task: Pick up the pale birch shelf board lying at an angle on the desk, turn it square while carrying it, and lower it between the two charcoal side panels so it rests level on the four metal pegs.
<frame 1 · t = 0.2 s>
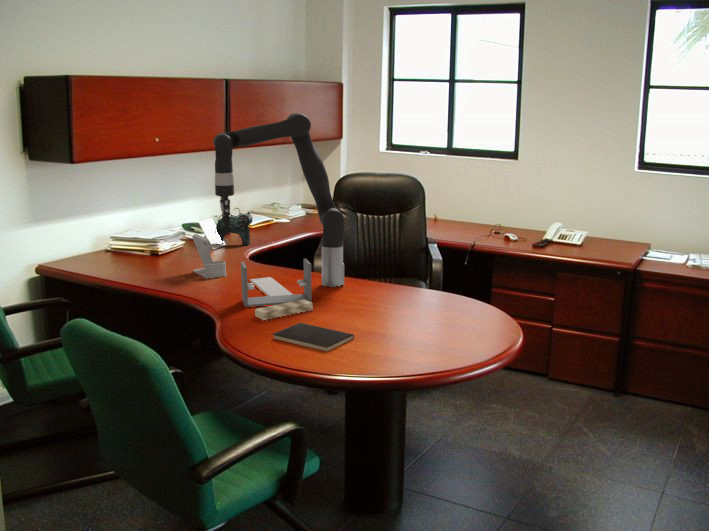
hand: (225, 223, 316), 29 cm above the table, tool pointing down, fingers open, 8 cm apart
phone holder: (209, 274, 353), on the table
shelf board: (284, 314, 293), on the table
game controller: (234, 245, 414), on the table
hardcover book: (313, 340, 265), on the table
shelf frame: (276, 302, 308), on the table
baseboard: (268, 290, 328), on the table
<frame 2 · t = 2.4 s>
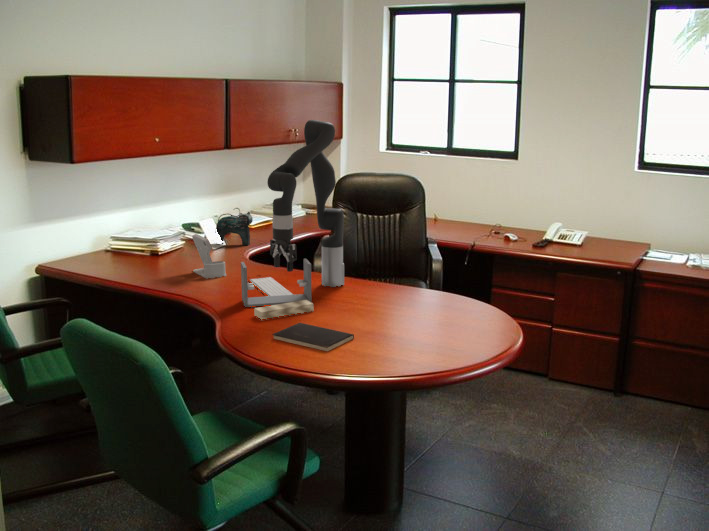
hand: (283, 269, 289), 17 cm above the table, tool pointing down, fingers open, 8 cm apart
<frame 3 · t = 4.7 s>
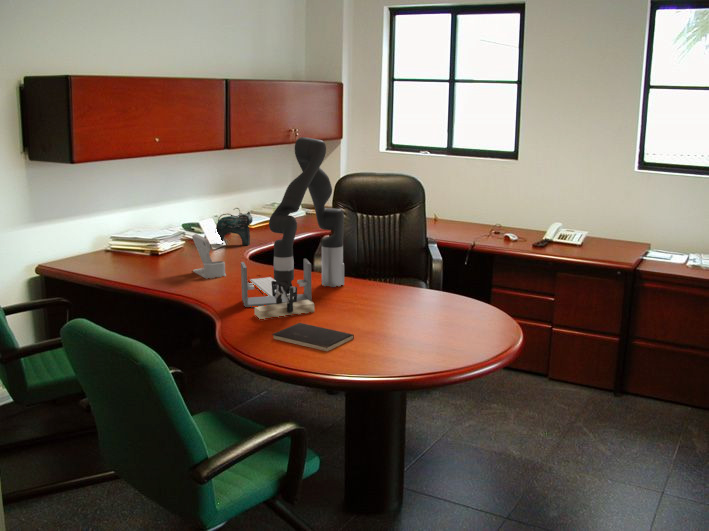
hand: (284, 310, 293), 1 cm above the table, tool pointing down, fingers closed on shelf board, 6 cm apart
shelf board: (284, 314, 293), on the table, touching gripper
everything else where it was.
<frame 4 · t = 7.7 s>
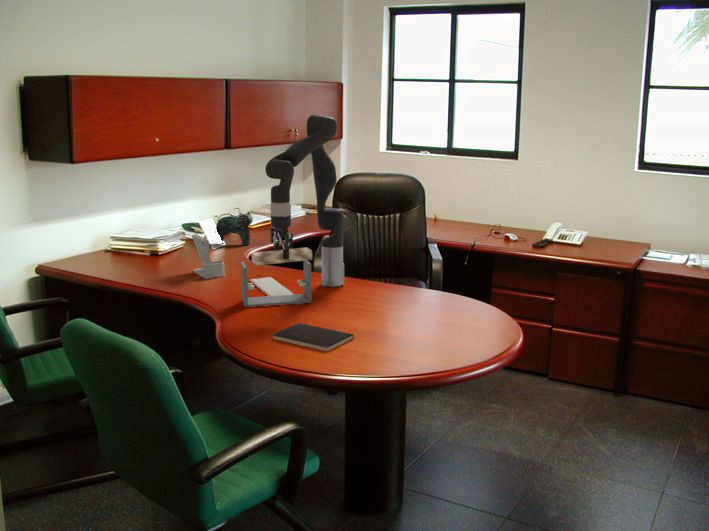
hand: (281, 257, 292), 21 cm above the table, tool pointing down, fingers closed on shelf board, 6 cm apart
shelf board: (282, 260, 293), point 20 cm above the table, touching gripper
everything else where it was.
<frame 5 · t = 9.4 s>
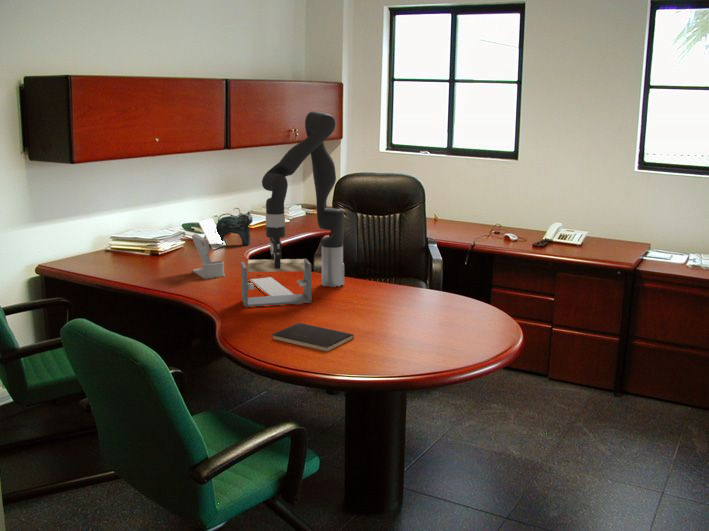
hand: (276, 266, 304), 15 cm above the table, tool pointing down, fingers closed on shelf board, 6 cm apart
shelf board: (276, 269, 305), point 13 cm above the table, touching gripper
everything else where it was.
when the fingers open (10 cm above the table, at t = 10.9 s): shelf board stays where it is, resting on shelf frame.
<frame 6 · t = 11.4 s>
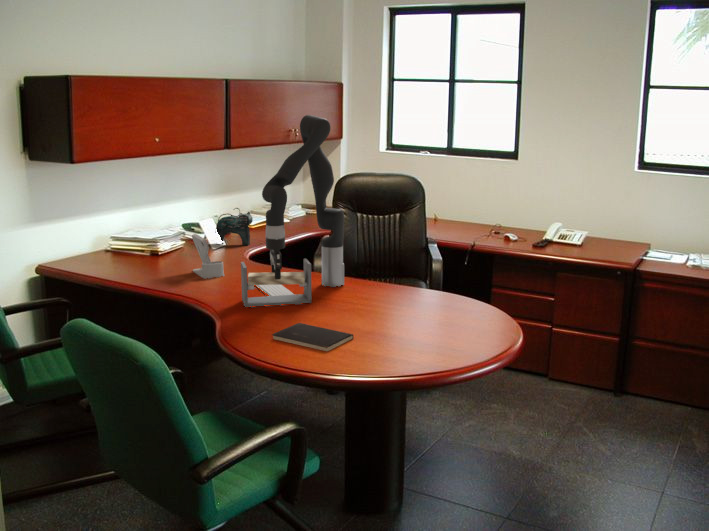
hand: (276, 276, 306), 11 cm above the table, tool pointing down, fingers open, 8 cm apart
shelf board: (276, 282, 306), point 8 cm above the table, touching shelf frame
everything else where it was.
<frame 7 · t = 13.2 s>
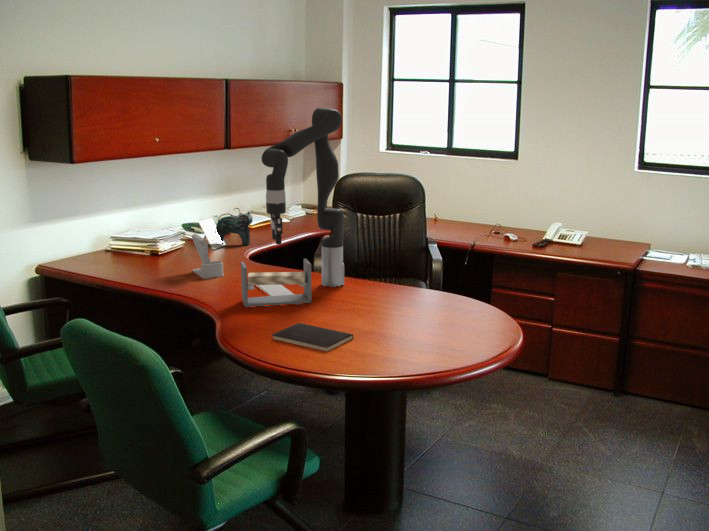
hand: (276, 241, 304), 24 cm above the table, tool pointing down, fingers open, 8 cm apart
nothing on the table moved.
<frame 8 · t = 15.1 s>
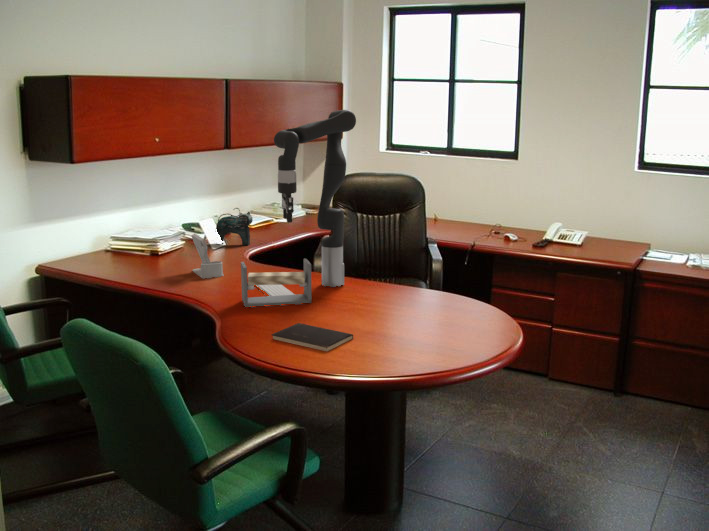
hand: (287, 220, 317), 30 cm above the table, tool pointing down, fingers open, 8 cm apart
nothing on the table moved.
at the end: shelf board 0.1 cm off-centre on the shelf frame, point 8.0 cm above the shelf frame's base; shelf board tilted 0°; the gripper is holding nothing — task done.
